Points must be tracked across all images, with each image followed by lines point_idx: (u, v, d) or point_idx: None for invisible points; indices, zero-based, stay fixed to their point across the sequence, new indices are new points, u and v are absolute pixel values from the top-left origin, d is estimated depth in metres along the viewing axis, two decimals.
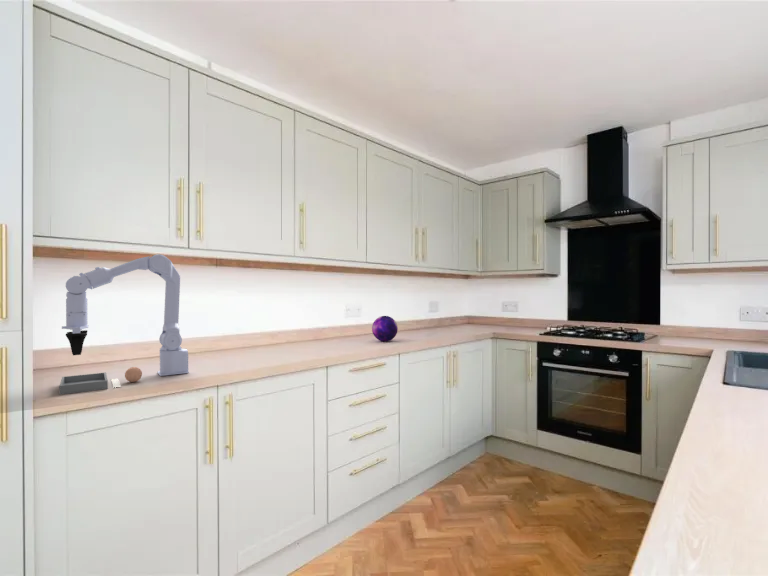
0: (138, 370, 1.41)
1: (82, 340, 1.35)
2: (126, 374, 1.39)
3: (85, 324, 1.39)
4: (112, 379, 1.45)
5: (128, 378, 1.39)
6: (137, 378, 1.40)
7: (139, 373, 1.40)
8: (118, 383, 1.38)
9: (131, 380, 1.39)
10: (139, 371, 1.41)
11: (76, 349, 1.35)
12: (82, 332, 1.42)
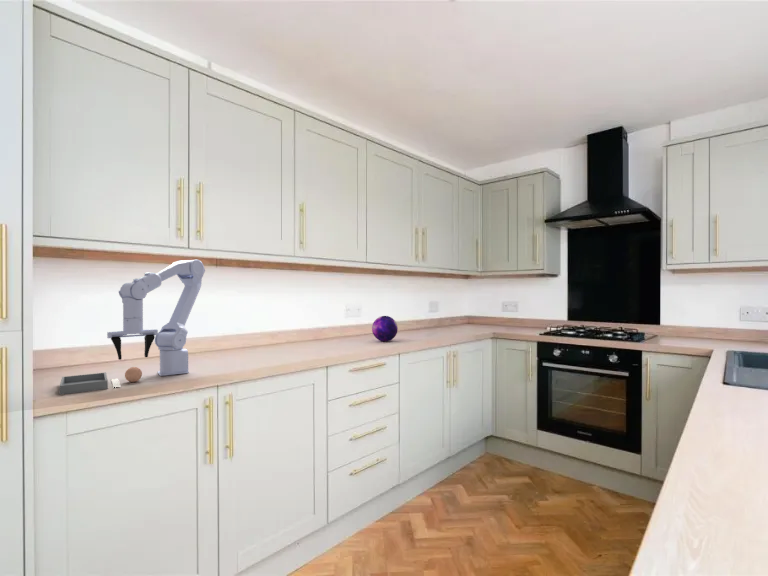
0: (138, 370, 1.41)
1: (115, 345, 1.37)
2: (126, 374, 1.39)
3: (128, 330, 1.38)
4: (112, 379, 1.45)
5: (128, 378, 1.39)
6: (137, 378, 1.40)
7: (139, 373, 1.40)
8: (118, 383, 1.38)
9: (131, 380, 1.39)
10: (139, 371, 1.41)
11: (118, 353, 1.38)
12: (146, 338, 1.42)
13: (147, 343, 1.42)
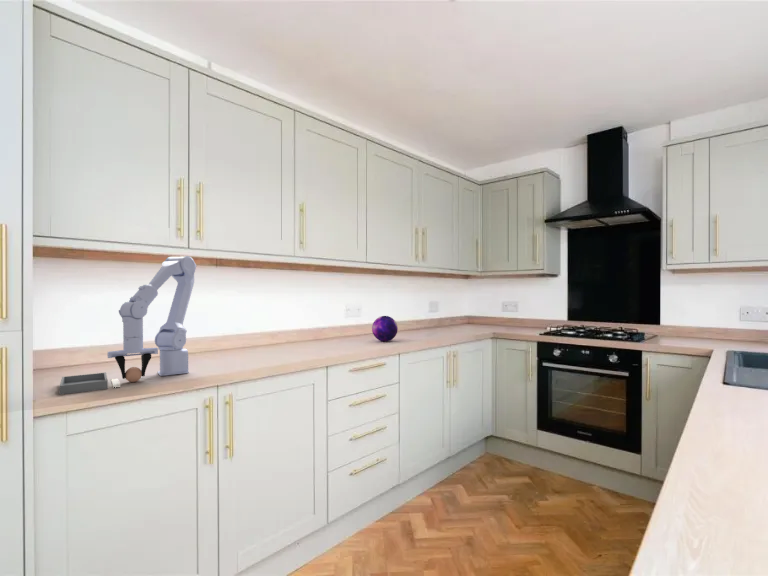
0: (138, 370, 1.41)
1: (119, 365, 1.37)
2: (126, 374, 1.39)
3: (128, 349, 1.38)
4: (112, 379, 1.45)
5: (128, 378, 1.39)
6: (137, 378, 1.40)
7: (139, 373, 1.40)
8: (118, 383, 1.38)
9: (131, 380, 1.39)
10: (139, 371, 1.41)
11: (122, 372, 1.39)
12: (143, 357, 1.42)
13: (144, 362, 1.41)
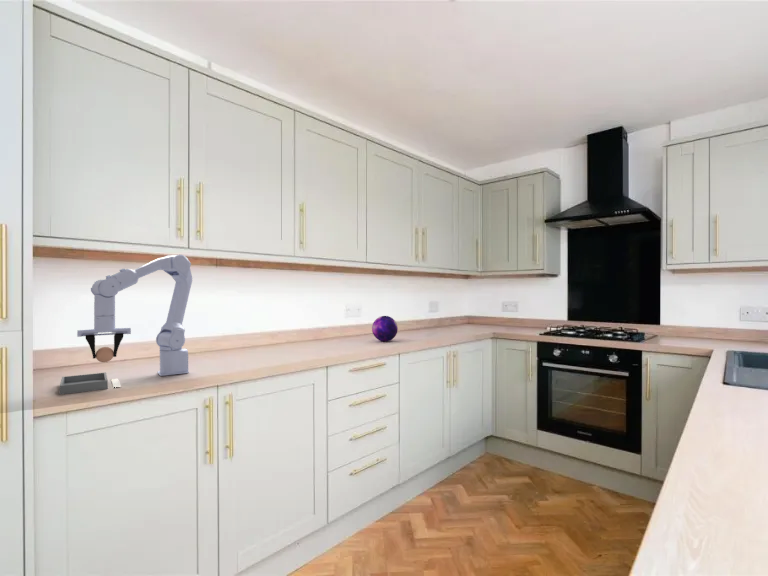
0: (109, 350, 1.36)
1: None
2: (96, 354, 1.35)
3: (99, 328, 1.34)
4: (112, 379, 1.45)
5: (98, 358, 1.34)
6: (108, 358, 1.36)
7: (110, 353, 1.36)
8: (118, 383, 1.38)
9: (102, 360, 1.35)
10: (110, 351, 1.36)
11: (92, 352, 1.35)
12: (114, 337, 1.37)
13: (115, 342, 1.37)
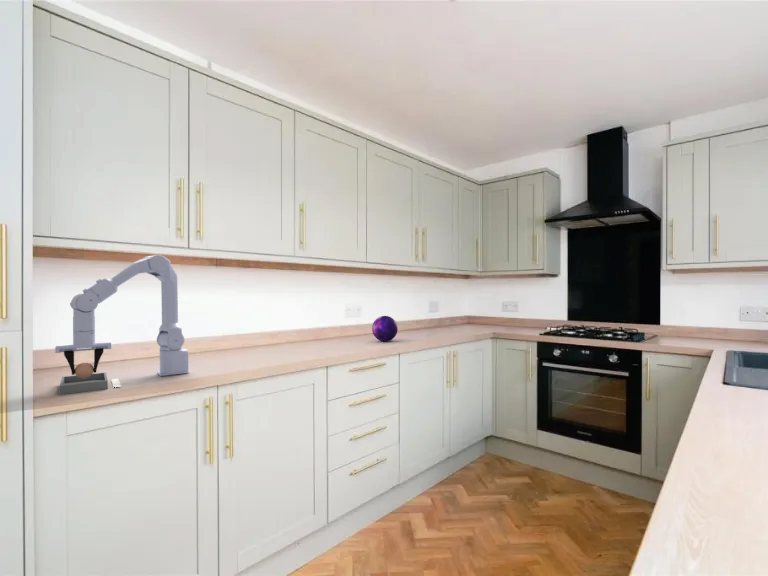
0: (89, 366, 1.33)
1: (67, 360, 1.30)
2: (75, 370, 1.32)
3: (77, 344, 1.31)
4: (112, 379, 1.45)
5: (77, 374, 1.32)
6: (87, 374, 1.33)
7: (90, 369, 1.33)
8: (118, 383, 1.38)
9: (81, 376, 1.32)
10: (90, 367, 1.34)
11: None
12: (94, 352, 1.34)
13: (95, 358, 1.34)
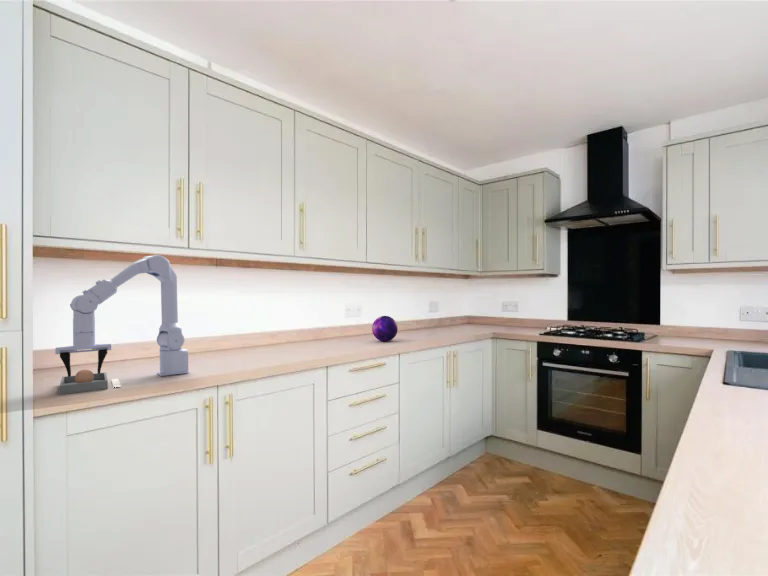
0: (89, 373, 1.33)
1: (63, 362, 1.30)
2: (76, 377, 1.32)
3: (77, 345, 1.31)
4: (112, 379, 1.45)
5: (78, 381, 1.32)
6: (88, 381, 1.33)
7: (90, 376, 1.33)
8: (118, 383, 1.38)
9: None
10: (90, 374, 1.34)
11: None
12: (98, 353, 1.35)
13: (99, 359, 1.35)
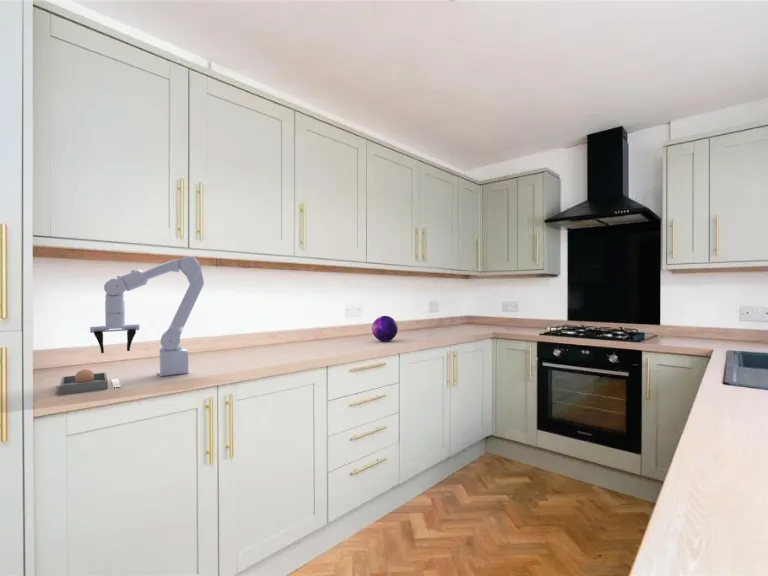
0: (89, 373, 1.33)
1: None
2: (76, 377, 1.32)
3: (110, 325, 1.44)
4: (112, 379, 1.45)
5: (78, 381, 1.32)
6: (88, 381, 1.33)
7: (90, 376, 1.33)
8: (118, 383, 1.38)
9: None
10: (90, 374, 1.34)
11: (100, 347, 1.45)
12: (127, 332, 1.48)
13: (129, 337, 1.48)
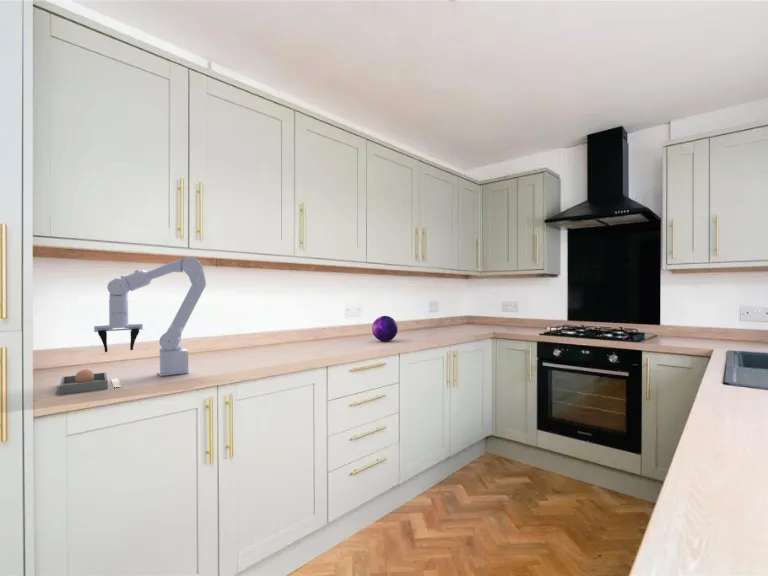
0: (89, 373, 1.33)
1: (101, 339, 1.44)
2: (76, 377, 1.32)
3: (113, 324, 1.46)
4: (112, 379, 1.45)
5: (78, 381, 1.32)
6: (88, 381, 1.33)
7: (90, 376, 1.33)
8: (118, 383, 1.38)
9: None
10: (90, 374, 1.34)
11: (104, 346, 1.46)
12: (131, 332, 1.50)
13: (132, 337, 1.50)
